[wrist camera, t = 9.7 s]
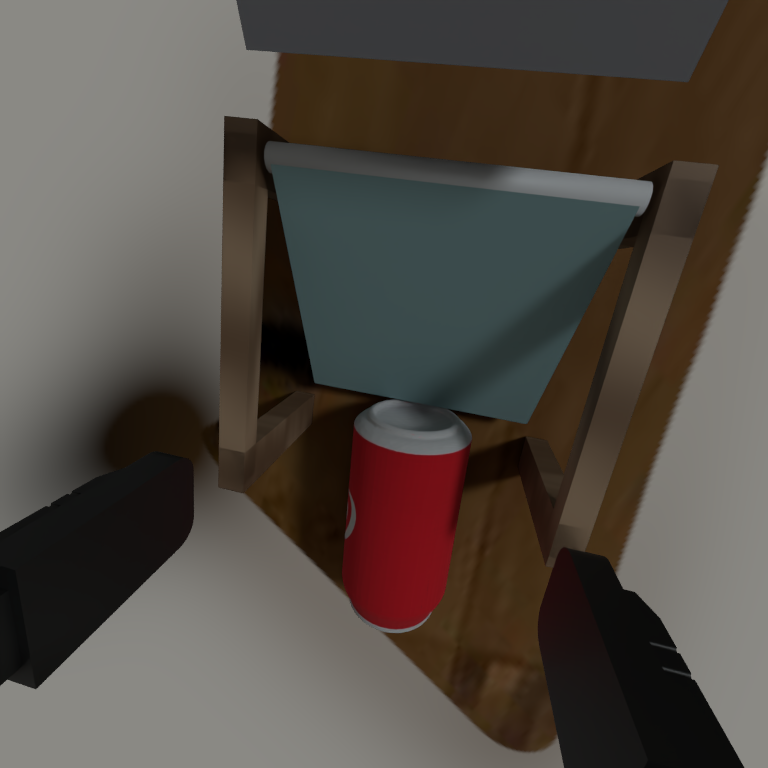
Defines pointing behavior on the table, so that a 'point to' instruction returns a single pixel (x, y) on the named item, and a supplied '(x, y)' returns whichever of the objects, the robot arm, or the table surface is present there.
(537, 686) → the table surface
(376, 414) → the beverage can
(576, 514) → the trapdoor frame
